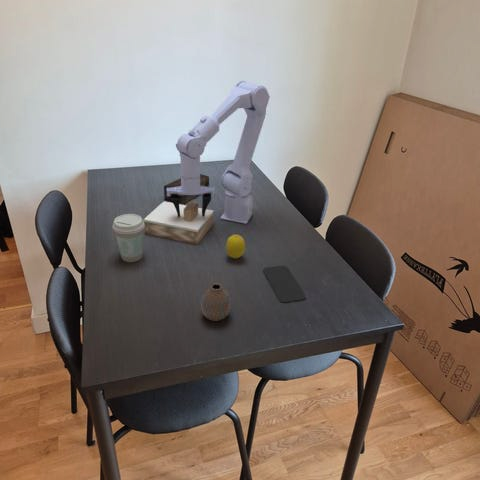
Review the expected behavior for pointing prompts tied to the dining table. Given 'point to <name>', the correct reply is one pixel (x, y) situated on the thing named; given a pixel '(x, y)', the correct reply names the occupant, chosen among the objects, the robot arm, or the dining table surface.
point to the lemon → (235, 246)
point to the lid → (188, 216)
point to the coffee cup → (129, 236)
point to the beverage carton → (182, 198)
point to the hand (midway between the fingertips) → (191, 215)
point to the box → (178, 232)
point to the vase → (215, 303)
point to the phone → (284, 284)
